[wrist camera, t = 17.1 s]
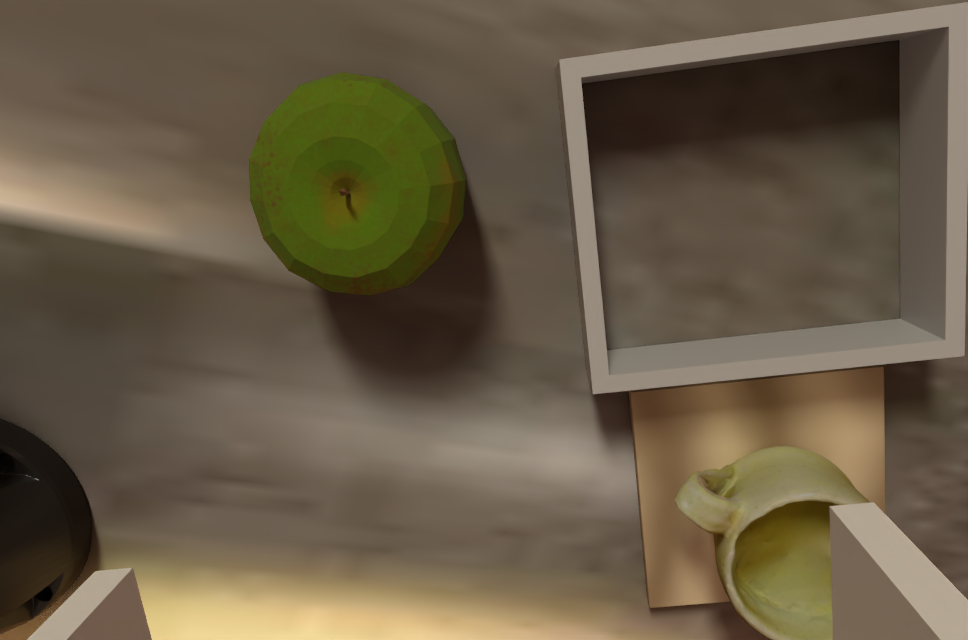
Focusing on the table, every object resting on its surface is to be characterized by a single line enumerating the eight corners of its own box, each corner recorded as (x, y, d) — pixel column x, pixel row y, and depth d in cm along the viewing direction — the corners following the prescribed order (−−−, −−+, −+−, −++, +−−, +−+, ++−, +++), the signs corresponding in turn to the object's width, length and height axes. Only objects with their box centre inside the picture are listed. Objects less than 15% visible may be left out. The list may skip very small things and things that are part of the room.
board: (646, 597, 50) (649, 607, 49) (628, 386, 47) (630, 392, 46) (877, 578, 49) (885, 589, 48) (874, 360, 46) (883, 366, 44)
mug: (931, 501, 44) (955, 613, 36) (798, 584, 49) (791, 699, 41) (773, 360, 45) (760, 437, 37) (659, 456, 50) (625, 542, 42)
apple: (297, 75, 44) (223, 53, 33) (480, 94, 43) (465, 79, 33) (288, 262, 46) (218, 298, 36) (461, 282, 46) (442, 324, 35)
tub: (586, 368, 47) (592, 394, 42) (555, 68, 43) (559, 59, 38) (917, 332, 45) (964, 355, 40) (918, 18, 41) (970, 1, 36)
